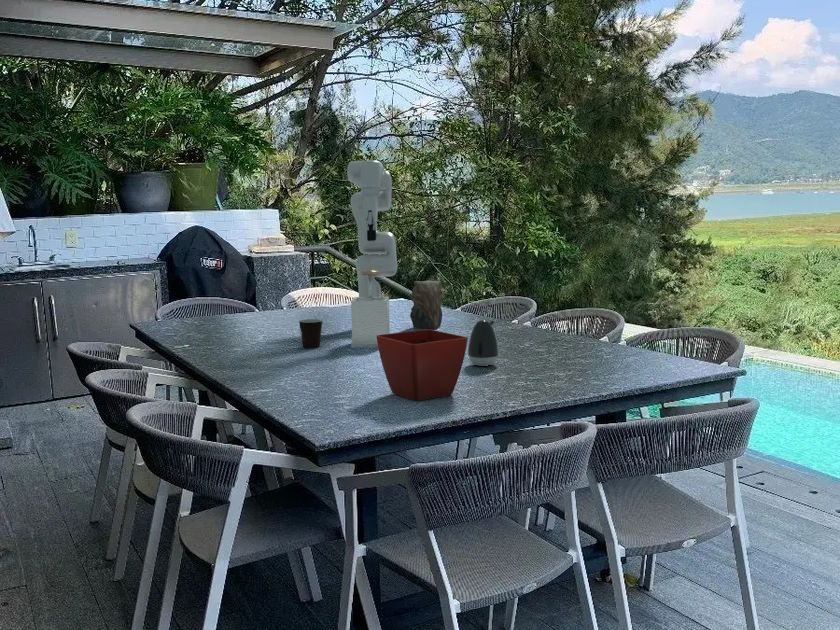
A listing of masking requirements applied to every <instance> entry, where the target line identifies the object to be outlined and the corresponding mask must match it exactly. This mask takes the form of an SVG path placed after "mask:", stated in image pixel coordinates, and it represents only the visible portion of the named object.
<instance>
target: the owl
mask: <svg viewBox="0 0 840 630" xmlns="http://www.w3.org/2000/svg"><path fill="white" fill-rule="evenodd" d="M413 285H414V286H413V287H412V288H413V289H411V290H412V291H411V294H410V296H411V301H412V303H413V306H412V307H411V312H410V314H409V317H410V319H411V323H412V328H413V329H418V330H427V329H431V330H436V331H438V329H439V328H440V327H441V326H442V325H441V324H442V322H443V321H442V320H443V311H442V307H441V306H442V301H443V289H442V286H443V283H442V280H430V279H428V280H425V281H419V280H417V281H416V280H414V281H413Z"/></svg>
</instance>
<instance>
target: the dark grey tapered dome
mask: <svg viewBox="0 0 840 630" xmlns="http://www.w3.org/2000/svg"><path fill="white" fill-rule="evenodd" d="M494 324H495V321H494V320H491V321H488V320H485V319H481V320H478V321H477V322H476V323H475V324H474V326H473V328H472V331H471V333H470V337H469V341H468V347H467V355H468V358H469V361H470V362H471V364H472V365H474V366H475V365H478V366H487V365H491V366H493V365H495V363H496V362H497V360H498V357H499V355H500V354H499V353H500V351H499V344H498V340H497V336H496V332H495V330H494V327H493V325H494ZM478 366H477V367H478Z"/></svg>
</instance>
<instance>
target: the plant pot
mask: <svg viewBox="0 0 840 630" xmlns="http://www.w3.org/2000/svg"><path fill="white" fill-rule="evenodd" d="M468 339H469V338H468V337H467V336H463V335H459V334H454V333H450V332H449V333H448V332H444V331H440V330H436V329H418V330H411V331H409V330H408V331H402V332H400V331H399V332H394V333H393V332H392V333H390V334H383V335H377V343H378V352H379V357H380V361H381V365H382V367H383V372H384V374H385V378H386V380H387V383H388V386H389V389H390V390H391V393H392V394H394V395H397V396H400V397H403V398H406V399H408V400H411V401H414V402H415V401H416V402H418V401H419V402H420V401H424V400H430V399H431V398H432V399H437V397H438V398H443V397H442V396H444V397H448V396H447V395H449V396H452V395H453V393H454V391H455V388H456V385H457V383H458V380H459V378H460V373H461V371H462V367H463V364H464V360H465V356H466V350H467V344H468ZM451 394H452V395H451ZM432 399H431V400H432Z"/></svg>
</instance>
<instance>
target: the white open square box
mask: <svg viewBox="0 0 840 630" xmlns="http://www.w3.org/2000/svg"><path fill="white" fill-rule="evenodd" d="M389 298H390V297H389V296H381V297H372V301H369V297H359V296H355V297H354V298H353V299H352V300H351V301H350V309H351V310H350V311H351V312H350V315H351V316H350V317H351V319H350V320H351V343H350V348H351V349H354V348H355V349H358V348H359V349H362V348H363V349H365V348H370V349H372V348H373V349H374V348H375V349H376V348H378V343H377V335H383V334H391V333H390V331H391V330H390V299H389ZM378 349H379V348H378Z"/></svg>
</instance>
